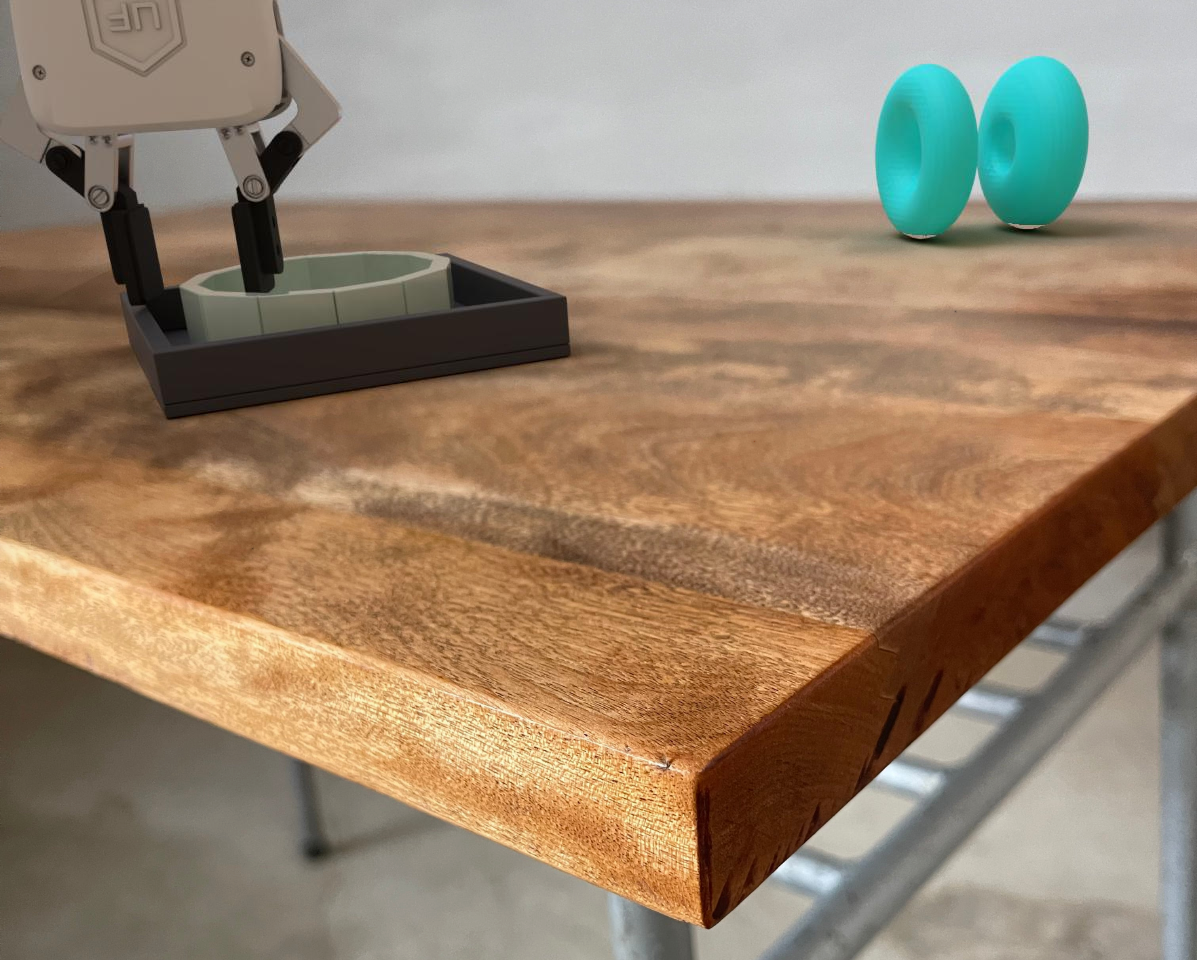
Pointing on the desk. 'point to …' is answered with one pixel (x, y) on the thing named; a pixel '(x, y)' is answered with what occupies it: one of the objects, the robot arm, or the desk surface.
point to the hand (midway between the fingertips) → (204, 292)
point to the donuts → (981, 146)
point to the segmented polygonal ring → (317, 294)
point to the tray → (347, 346)
